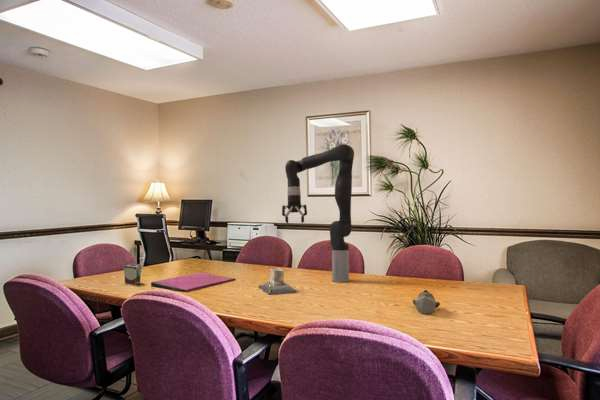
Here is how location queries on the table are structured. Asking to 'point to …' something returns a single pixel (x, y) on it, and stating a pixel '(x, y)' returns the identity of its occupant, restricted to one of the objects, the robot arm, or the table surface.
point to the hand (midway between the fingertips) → (294, 223)
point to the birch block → (276, 277)
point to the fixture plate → (276, 288)
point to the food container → (132, 273)
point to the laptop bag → (190, 282)
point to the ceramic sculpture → (425, 303)
